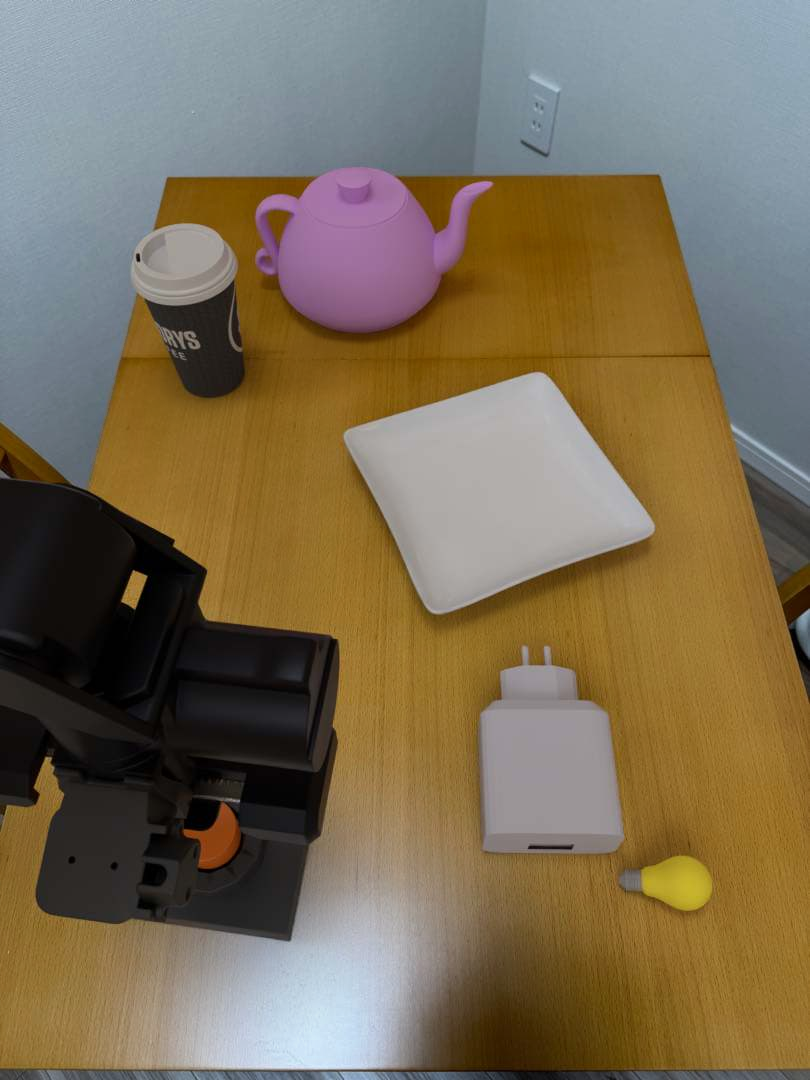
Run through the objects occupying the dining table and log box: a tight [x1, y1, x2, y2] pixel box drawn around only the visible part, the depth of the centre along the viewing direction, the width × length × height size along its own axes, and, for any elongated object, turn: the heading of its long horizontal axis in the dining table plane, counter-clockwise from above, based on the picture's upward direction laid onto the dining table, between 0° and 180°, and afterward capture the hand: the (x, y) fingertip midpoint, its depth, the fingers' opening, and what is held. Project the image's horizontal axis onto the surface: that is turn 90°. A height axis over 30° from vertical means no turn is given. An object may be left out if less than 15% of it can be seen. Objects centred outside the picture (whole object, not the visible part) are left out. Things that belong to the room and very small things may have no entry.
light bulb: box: [618, 854, 714, 912], centre depth 57 cm, size 3×6×4 cm, turn 84°
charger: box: [477, 645, 625, 855], centre depth 62 cm, size 5×9×15 cm
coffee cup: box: [130, 222, 246, 399], centre depth 81 cm, size 10×10×15 cm
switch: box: [183, 802, 241, 869], centre depth 56 cm, size 4×4×2 cm
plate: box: [342, 371, 656, 616], centre depth 76 cm, size 21×21×3 cm
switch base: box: [131, 780, 310, 942], centre depth 59 cm, size 12×10×4 cm
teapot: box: [254, 166, 494, 334], centre depth 89 cm, size 25×18×14 cm
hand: (189, 808), depth 52 cm, fingers closed
